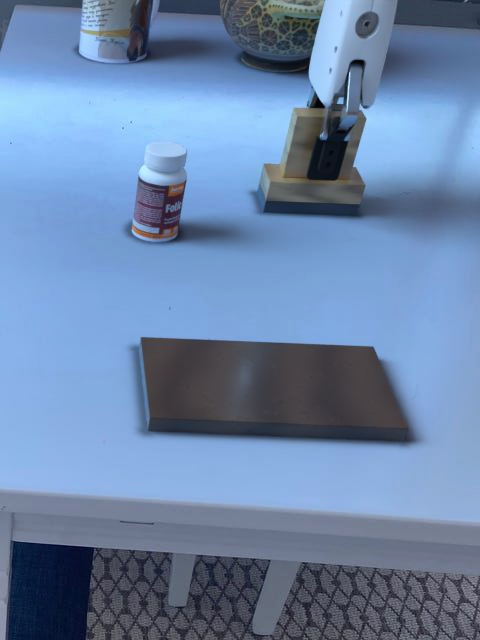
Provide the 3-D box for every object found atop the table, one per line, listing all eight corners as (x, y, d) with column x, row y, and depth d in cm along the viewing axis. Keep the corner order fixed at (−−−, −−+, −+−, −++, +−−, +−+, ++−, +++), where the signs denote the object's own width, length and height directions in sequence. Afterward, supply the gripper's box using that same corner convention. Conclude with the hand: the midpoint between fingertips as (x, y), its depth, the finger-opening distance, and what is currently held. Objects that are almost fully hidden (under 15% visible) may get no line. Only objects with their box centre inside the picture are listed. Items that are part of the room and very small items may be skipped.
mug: (73, 42, 139) (79, -49, 131) (152, 41, 140) (163, -49, 132) (84, 65, 132) (92, -29, 124) (168, 64, 133) (181, -29, 125)
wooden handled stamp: (346, 199, 104) (373, 106, 97) (355, 218, 101) (384, 123, 94) (256, 196, 104) (276, 102, 97) (262, 215, 101) (284, 119, 94)
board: (368, 361, 82) (373, 345, 80) (402, 444, 74) (409, 428, 72) (138, 352, 82) (140, 336, 81) (147, 434, 74) (149, 417, 73)
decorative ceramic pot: (213, 55, 145) (206, -61, 134) (333, 25, 141) (335, -96, 131) (236, 114, 128) (230, -12, 118) (372, 82, 125) (379, -51, 114)
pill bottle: (167, 248, 95) (181, 161, 89) (124, 238, 96) (134, 151, 90) (183, 230, 98) (198, 145, 92) (141, 220, 99) (152, 135, 93)
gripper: (436, -13, 80) (369, 203, 93) (388, -61, 91) (335, 137, 105) (347, -16, 80) (293, 200, 93) (311, -64, 92) (267, 134, 105)
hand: (316, 164), depth 99 cm, fingers open, 5 cm apart
